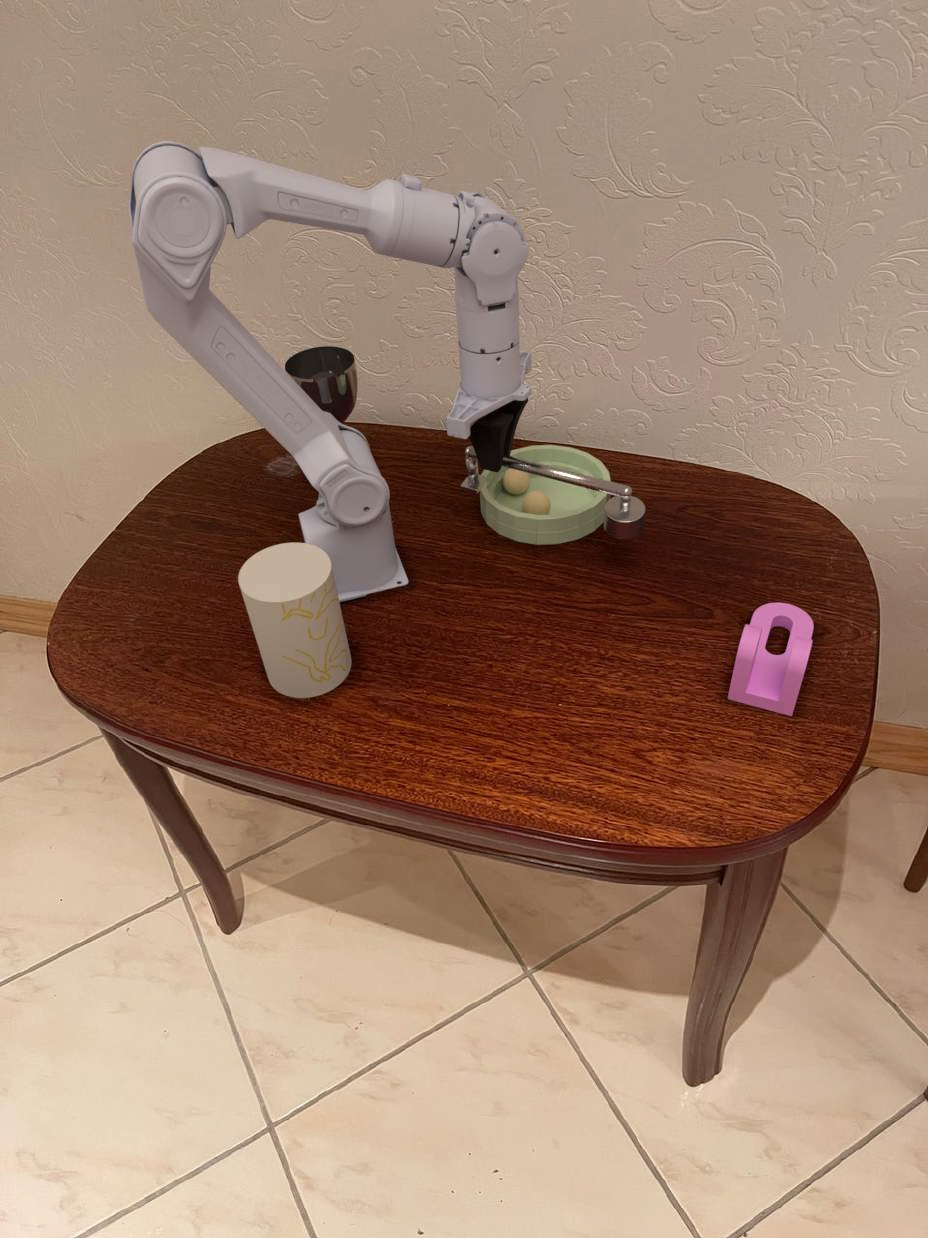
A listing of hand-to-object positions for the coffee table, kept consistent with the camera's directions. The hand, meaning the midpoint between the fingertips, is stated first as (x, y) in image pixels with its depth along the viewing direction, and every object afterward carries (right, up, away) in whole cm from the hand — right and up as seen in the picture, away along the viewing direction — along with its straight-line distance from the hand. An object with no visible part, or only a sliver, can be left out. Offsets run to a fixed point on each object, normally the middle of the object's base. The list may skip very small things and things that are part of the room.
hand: (494, 464), depth 92 cm
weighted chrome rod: (+5, -4, +1) cm, 6 cm away
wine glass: (-18, +2, +19) cm, 26 cm away
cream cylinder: (-18, -21, -6) cm, 28 cm away
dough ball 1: (+3, -1, +12) cm, 13 cm away
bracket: (+26, -20, -9) cm, 34 cm away
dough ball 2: (+5, -5, +7) cm, 10 cm away
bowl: (+6, -3, +11) cm, 13 cm away
